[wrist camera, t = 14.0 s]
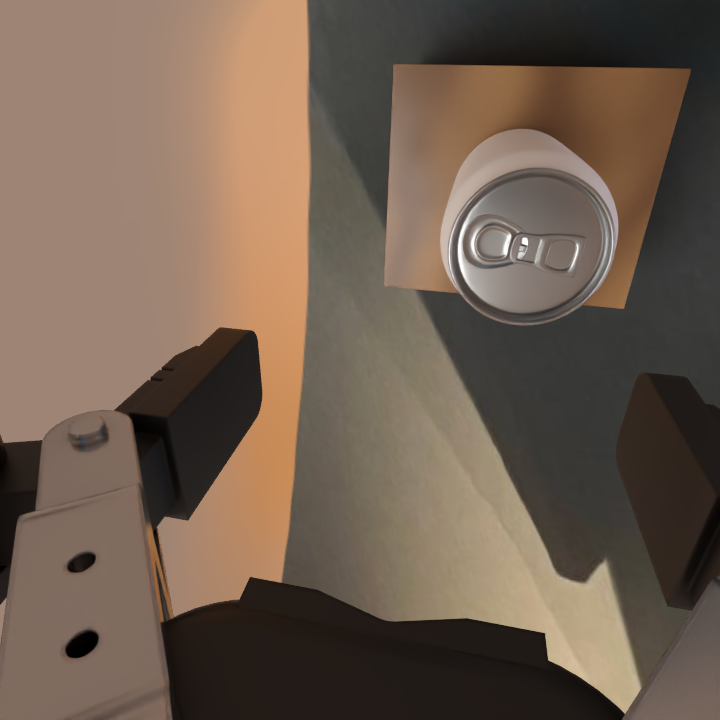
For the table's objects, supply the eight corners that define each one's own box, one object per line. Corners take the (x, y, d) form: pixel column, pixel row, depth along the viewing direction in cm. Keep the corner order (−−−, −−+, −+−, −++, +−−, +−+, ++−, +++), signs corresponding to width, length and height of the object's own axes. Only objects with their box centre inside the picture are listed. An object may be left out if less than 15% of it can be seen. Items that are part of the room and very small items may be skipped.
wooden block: (401, 251, 40) (383, 286, 33) (412, 68, 34) (393, 63, 27) (598, 267, 37) (623, 308, 30) (646, 72, 31) (691, 68, 24)
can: (467, 119, 27) (454, 140, 17) (593, 136, 26) (662, 169, 16) (444, 239, 30) (421, 318, 20) (556, 258, 30) (593, 351, 19)
